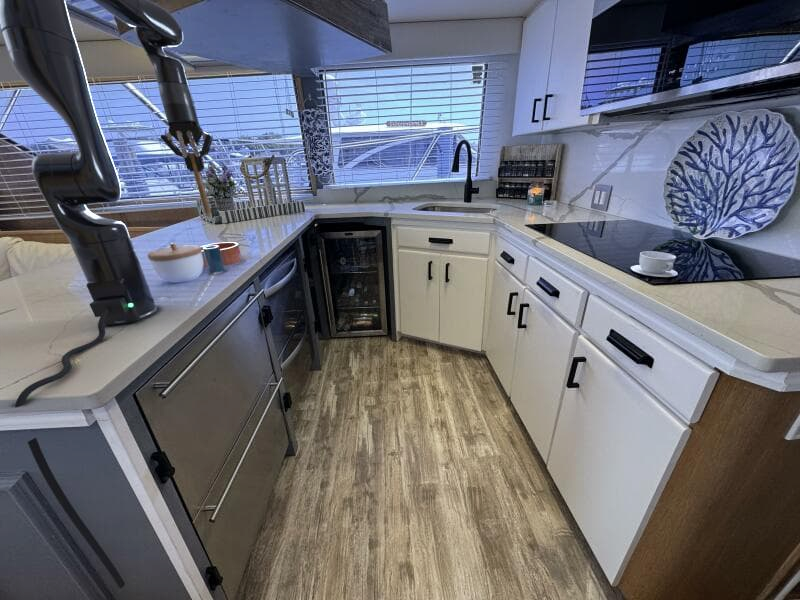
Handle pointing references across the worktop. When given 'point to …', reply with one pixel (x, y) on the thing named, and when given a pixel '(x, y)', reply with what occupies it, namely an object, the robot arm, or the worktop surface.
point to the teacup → (655, 264)
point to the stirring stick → (200, 185)
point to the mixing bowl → (226, 253)
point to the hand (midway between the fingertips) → (196, 171)
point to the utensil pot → (213, 258)
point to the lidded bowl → (177, 263)
